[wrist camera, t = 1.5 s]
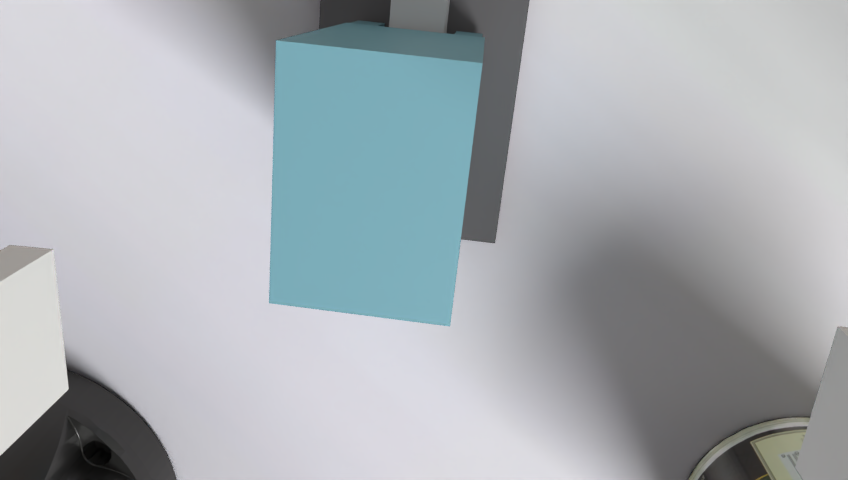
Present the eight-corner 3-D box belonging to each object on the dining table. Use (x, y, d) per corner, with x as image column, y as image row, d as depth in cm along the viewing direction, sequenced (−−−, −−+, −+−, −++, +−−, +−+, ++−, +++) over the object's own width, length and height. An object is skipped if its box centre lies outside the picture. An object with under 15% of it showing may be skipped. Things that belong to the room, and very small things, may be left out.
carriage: (345, 193, 30) (269, 302, 19) (356, 20, 27) (276, 40, 17) (463, 207, 30) (450, 326, 19) (485, 34, 27) (482, 63, 17)
